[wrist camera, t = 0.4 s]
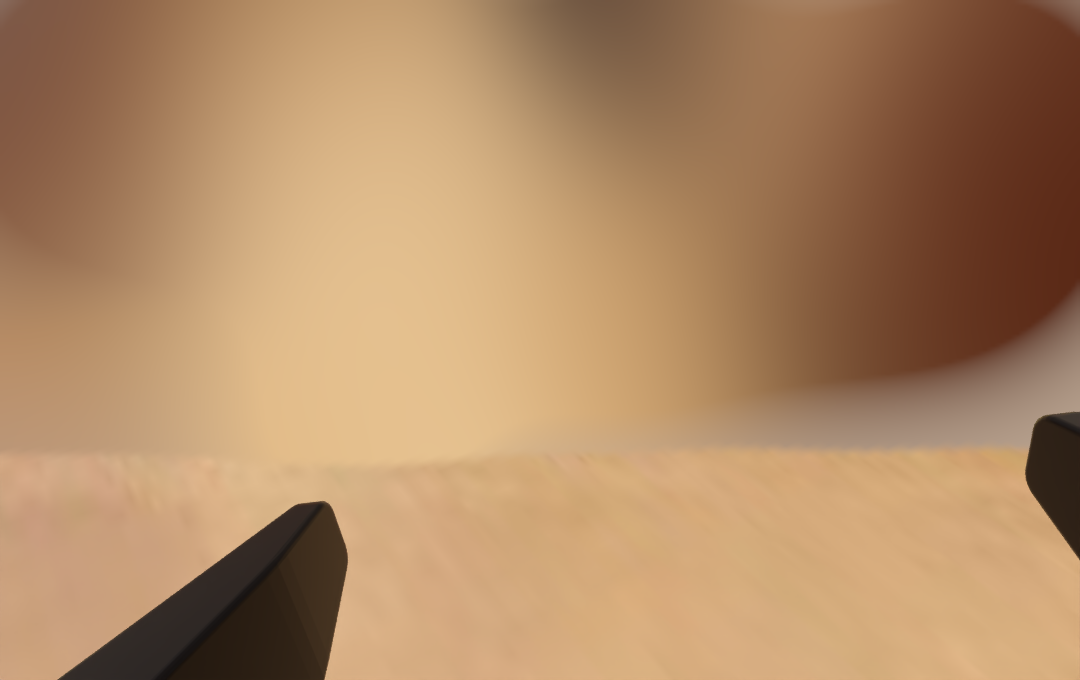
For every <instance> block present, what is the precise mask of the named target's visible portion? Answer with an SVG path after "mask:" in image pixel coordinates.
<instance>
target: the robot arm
mask: <svg viewBox="0 0 1080 680" xmlns="http://www.w3.org/2000/svg"><path fill="white" fill-rule="evenodd" d="M1025 475H1026V481H1027V484H1028V487H1029V489H1030V491H1031V492H1032V494H1033V495H1034V497H1035V498H1036V500H1037V501H1038V502H1039V504H1040V505H1041V507H1042V508H1043V509H1044V511H1045V512H1046V514H1047V515H1048V516H1049V518H1050V519H1051V521H1052V522H1053V523H1054V525H1055V526H1056V527H1057V529H1058V530H1059V532H1060V533H1061V534H1062V536H1063V537H1064V539H1065V540H1066V541H1067V543H1068V544H1069V546H1070V547H1071V548H1072V550H1073V551H1074V553H1075V554H1076V555H1077V557H1078V558H1079V560H1080V412H1068V413H1060V414H1052V415H1045V416H1042V417H1041V418H1039V419H1038V420H1037V421H1036V423H1035V424H1034V428H1033V432H1032V438H1031V443H1030V448H1029V453H1028V459H1027V464H1026V470H1025ZM347 565H348V554H347V549H346V545H345V543H344V540H343V537H342V534H341V531H340V528H339V525H338V523H337V520H336V517H335V514H334V511H333V509H332V507H331V506H330V504H328V503H327V502H325V501H319V502H310V503H302V504H297V505H295V506H293V507H292V508H290V509H289V510H288V511H286V512H285V513H284V514H282V515H281V516H280V517H278V518H277V519H275V520H274V521H273V522H271V523H270V524H269V525H267V526H266V527H265V528H263V529H262V530H260V531H259V532H258V533H256V534H255V535H254V536H252V537H251V538H250V539H248V540H247V541H246V542H244V543H243V544H241V545H240V546H239V547H237V548H236V549H235V550H233V551H232V552H231V553H229V554H228V555H226V556H225V557H224V558H222V559H221V560H220V561H218V562H217V563H216V564H214V565H213V566H211V567H210V568H209V569H207V570H206V571H205V572H203V573H202V574H201V575H199V576H198V577H197V578H195V579H194V580H192V581H191V582H190V583H188V584H187V585H186V586H184V587H183V588H182V589H180V590H179V591H177V592H176V593H175V594H173V595H172V596H171V597H169V598H168V599H167V600H165V601H164V602H163V603H161V604H160V605H158V606H157V607H156V608H154V609H153V610H152V611H150V612H149V613H148V614H146V615H145V616H143V617H142V618H141V619H139V620H138V621H137V622H135V623H134V624H133V625H131V626H130V627H129V628H127V629H126V630H124V631H123V632H122V633H120V634H119V635H118V636H116V637H115V638H114V639H112V640H111V641H109V642H108V643H107V644H105V645H104V646H103V647H101V648H100V649H99V650H97V651H96V652H94V653H93V654H92V655H90V656H89V657H88V658H86V659H85V660H84V661H82V662H81V663H80V664H78V665H77V666H75V667H74V668H73V669H71V670H70V671H69V672H67V673H66V674H65V675H63V676H62V677H60V678H59V679H58V680H324V679H325V675H326V671H327V666H328V662H329V657H330V652H331V647H332V642H333V637H334V632H335V627H336V622H337V617H338V612H339V607H340V601H341V596H342V591H343V586H344V581H345V576H346V571H347Z"/></svg>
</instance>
